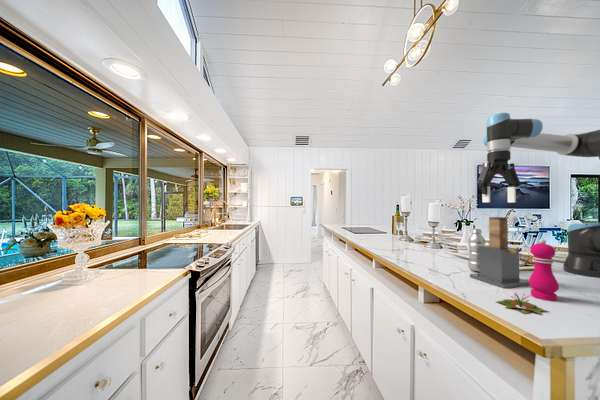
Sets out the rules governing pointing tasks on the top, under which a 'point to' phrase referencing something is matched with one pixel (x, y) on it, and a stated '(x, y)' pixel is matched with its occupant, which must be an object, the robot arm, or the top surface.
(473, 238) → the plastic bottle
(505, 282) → the sleeve
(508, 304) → the lily flower
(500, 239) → the column
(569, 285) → the top surface
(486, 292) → the top surface
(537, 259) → the pepper mill
